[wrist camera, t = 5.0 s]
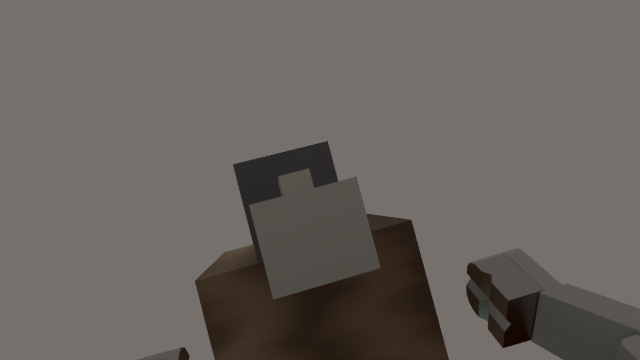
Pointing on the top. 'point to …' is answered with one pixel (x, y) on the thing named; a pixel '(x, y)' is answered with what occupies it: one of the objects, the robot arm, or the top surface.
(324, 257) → the plug
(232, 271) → the block
